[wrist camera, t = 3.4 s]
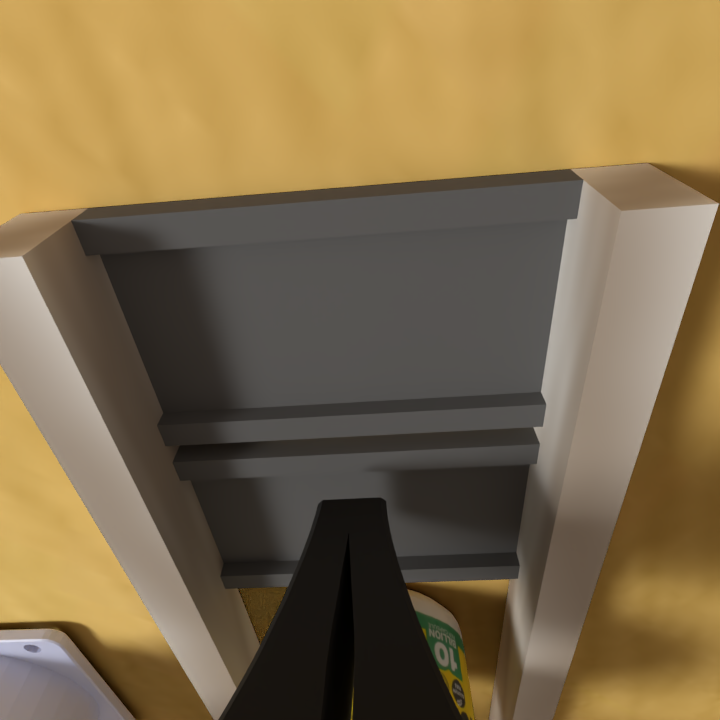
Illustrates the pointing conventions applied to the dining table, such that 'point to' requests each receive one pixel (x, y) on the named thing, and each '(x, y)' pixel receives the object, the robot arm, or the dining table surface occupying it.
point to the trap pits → (349, 358)
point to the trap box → (557, 436)
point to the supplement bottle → (445, 649)
